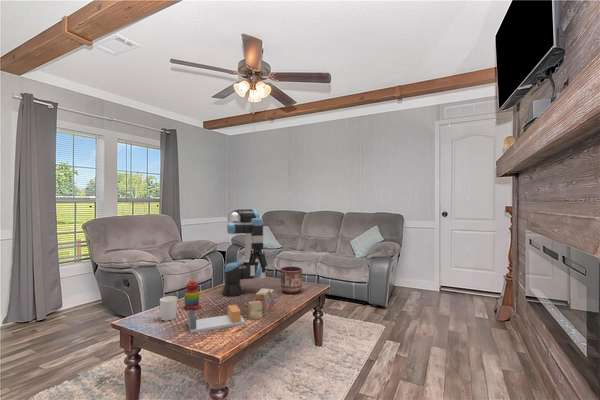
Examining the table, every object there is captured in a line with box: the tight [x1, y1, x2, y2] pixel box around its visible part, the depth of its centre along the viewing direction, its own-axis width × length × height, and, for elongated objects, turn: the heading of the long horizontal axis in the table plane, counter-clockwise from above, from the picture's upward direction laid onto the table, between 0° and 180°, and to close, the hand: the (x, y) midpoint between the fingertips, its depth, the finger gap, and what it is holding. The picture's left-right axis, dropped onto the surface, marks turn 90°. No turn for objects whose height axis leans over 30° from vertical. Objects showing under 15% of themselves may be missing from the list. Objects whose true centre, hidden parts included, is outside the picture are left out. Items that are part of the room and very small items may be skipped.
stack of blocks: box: [255, 288, 275, 314], centre depth 202 cm, size 21×6×12 cm, turn 169°
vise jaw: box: [227, 303, 242, 323], centre depth 179 cm, size 12×5×6 cm, turn 25°
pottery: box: [279, 266, 303, 295], centre depth 237 cm, size 18×18×18 cm
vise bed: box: [187, 310, 246, 334], centre depth 175 cm, size 14×30×8 cm, turn 115°
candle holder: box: [159, 295, 178, 322], centre depth 182 cm, size 10×10×12 cm
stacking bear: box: [183, 279, 202, 311], centre depth 201 cm, size 11×10×18 cm
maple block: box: [248, 300, 263, 321], centre depth 184 cm, size 5×7×9 cm
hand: (257, 276), depth 189 cm, fingers open, 13 cm apart
